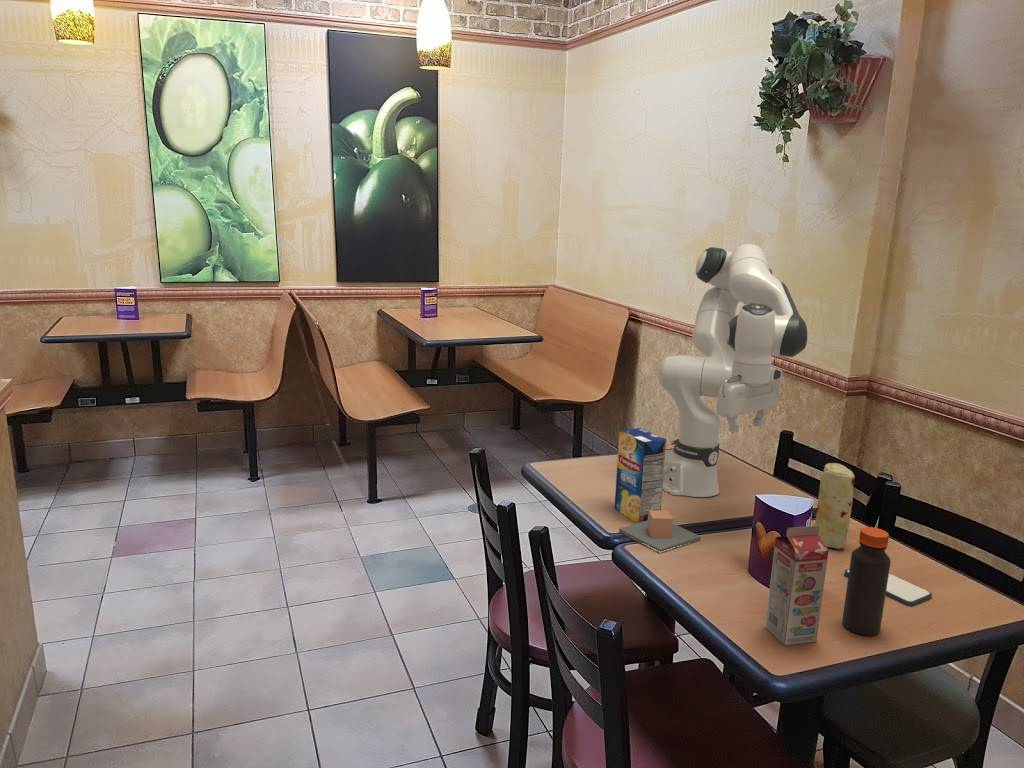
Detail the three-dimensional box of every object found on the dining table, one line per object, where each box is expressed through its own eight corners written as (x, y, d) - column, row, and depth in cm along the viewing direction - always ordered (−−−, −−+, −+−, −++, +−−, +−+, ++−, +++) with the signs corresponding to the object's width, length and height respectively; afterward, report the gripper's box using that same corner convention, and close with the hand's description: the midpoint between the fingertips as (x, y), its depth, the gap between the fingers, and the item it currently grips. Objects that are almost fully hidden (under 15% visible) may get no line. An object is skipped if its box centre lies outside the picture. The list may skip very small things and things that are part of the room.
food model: (853, 550, 180) (864, 472, 175) (829, 553, 178) (840, 473, 174) (827, 534, 189) (837, 458, 184) (804, 536, 187) (813, 460, 183)
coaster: (618, 532, 186) (619, 528, 186) (658, 520, 194) (658, 516, 194) (659, 553, 175) (660, 549, 175) (700, 540, 183) (700, 536, 183)
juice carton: (765, 626, 145) (777, 520, 140) (795, 623, 147) (808, 518, 142) (784, 645, 139) (798, 535, 134) (816, 641, 140) (830, 533, 135)
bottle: (887, 636, 143) (902, 539, 138) (853, 637, 142) (867, 539, 138) (867, 617, 149) (881, 524, 145) (835, 618, 149) (848, 524, 144)
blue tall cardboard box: (638, 524, 192) (644, 442, 187) (614, 508, 201) (619, 430, 196) (660, 519, 195) (666, 439, 190) (634, 505, 204) (640, 427, 199)
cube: (647, 528, 186) (648, 510, 185) (667, 529, 186) (668, 510, 185) (651, 537, 181) (652, 518, 180) (671, 537, 181) (673, 518, 180)
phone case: (933, 600, 159) (865, 568, 172) (935, 593, 158) (866, 561, 171) (909, 610, 154) (841, 576, 167) (910, 603, 154) (842, 570, 167)
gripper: (735, 381, 169) (729, 439, 172) (787, 370, 181) (780, 425, 184) (712, 376, 173) (707, 432, 177) (764, 365, 186) (758, 419, 189)
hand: (745, 428), depth 181 cm, fingers open, 8 cm apart
